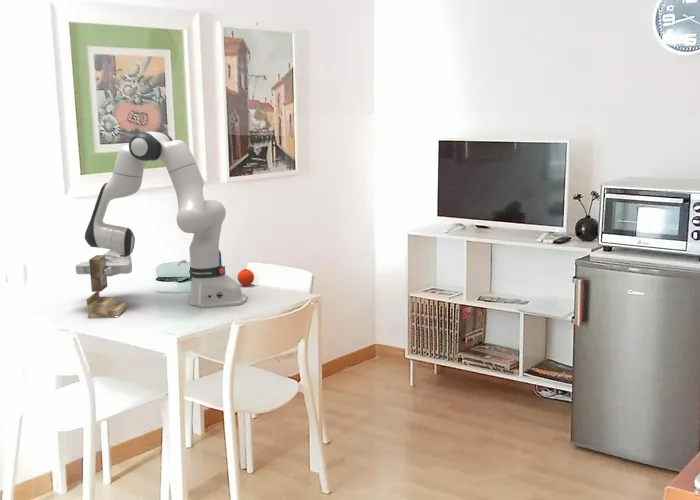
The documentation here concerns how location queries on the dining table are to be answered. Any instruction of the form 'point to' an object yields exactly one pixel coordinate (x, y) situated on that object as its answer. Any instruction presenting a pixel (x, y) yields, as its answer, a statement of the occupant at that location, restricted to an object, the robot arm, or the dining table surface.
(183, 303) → the dining table surface
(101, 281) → the brown wooden block
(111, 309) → the oak notch rail
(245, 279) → the clementine
